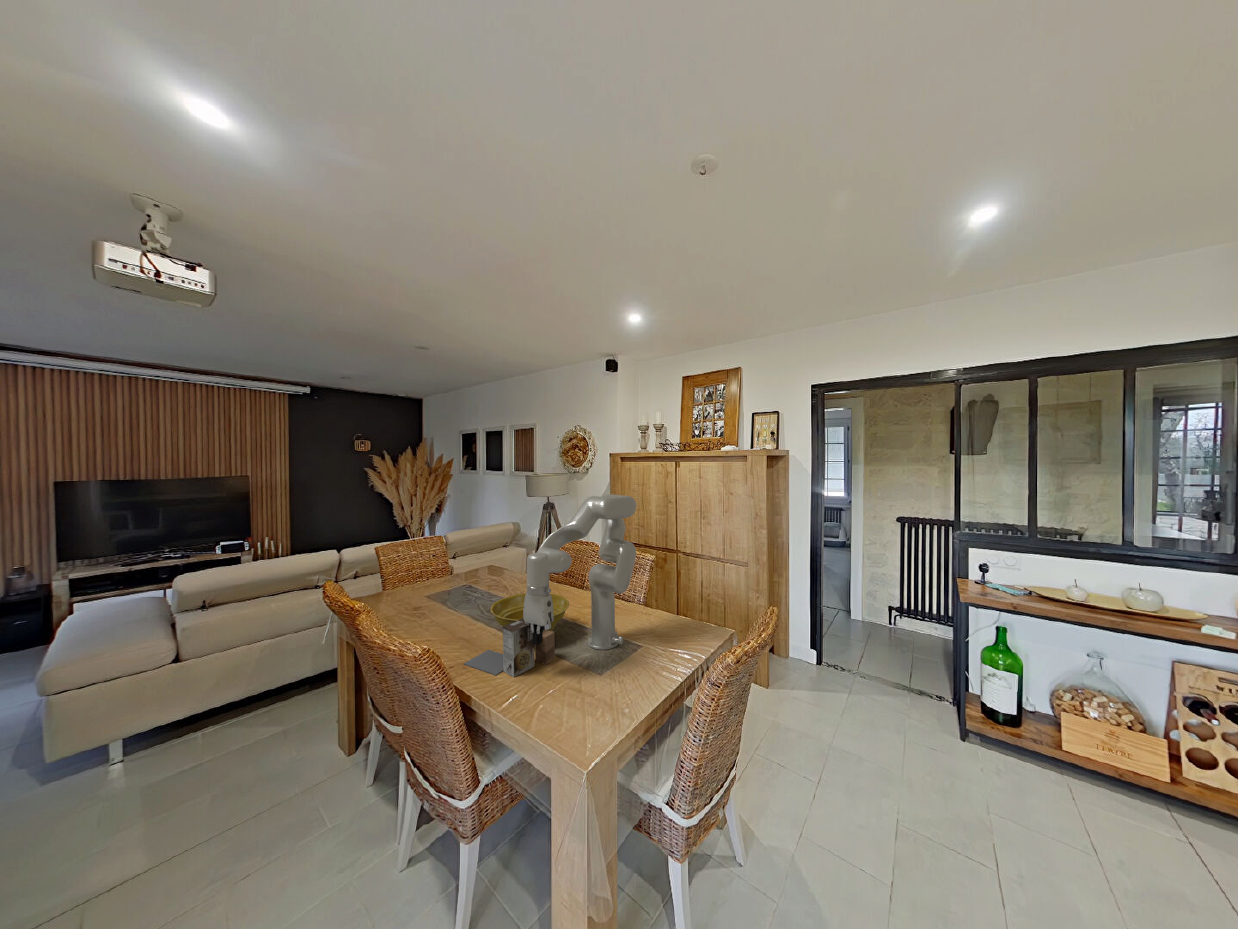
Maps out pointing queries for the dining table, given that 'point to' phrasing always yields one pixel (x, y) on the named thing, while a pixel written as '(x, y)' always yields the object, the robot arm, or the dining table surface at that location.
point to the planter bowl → (514, 606)
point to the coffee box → (517, 648)
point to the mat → (487, 662)
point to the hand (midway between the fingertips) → (537, 643)
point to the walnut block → (545, 648)
